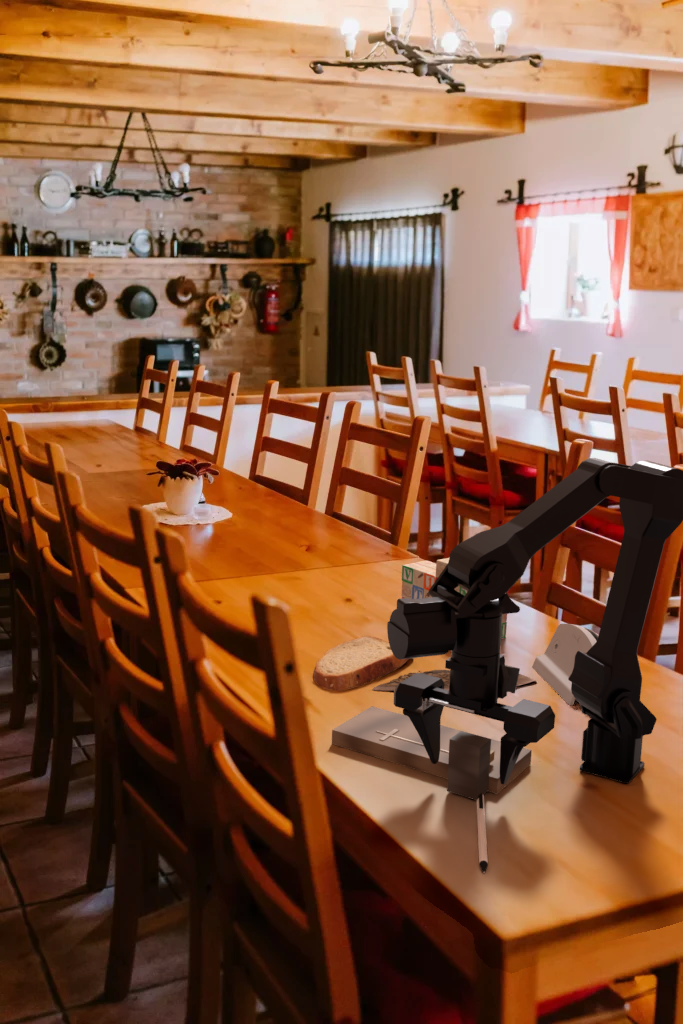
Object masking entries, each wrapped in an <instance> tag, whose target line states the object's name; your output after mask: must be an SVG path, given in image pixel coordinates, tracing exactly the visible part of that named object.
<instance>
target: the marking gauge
mask: <svg viewBox="0 0 683 1024" xmlns="http://www.w3.org/2000/svg"><path fill="white" fill-rule="evenodd" d="M478 735H479V734H475V733H472V734H471V732H468V733H467V731H464V730H461V731H460V732H459V733H457V734H456V735H455V736H453V737H452V738H451V739H450V741H449V761H448V779H447V784H446V785H447V787H446V791H447V792H449V793H453V794H456V795H459V796H463V797H465V798H469V799H472V800H475V801H477V799H478V798H479V795H480V794H481V793H482V794H483V795H484V796H485V794H486V793H487V792H489V791H488V783H489V766H490V763H491V762H492V761H493V760H494V752H495V751H493V750H490V749H491V739H492V738H490V739H489V737H486V736H482V735H479V736H478ZM485 737H486V738H485Z"/></svg>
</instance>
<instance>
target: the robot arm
mask: <svg viewBox="0 0 683 1024" xmlns="http://www.w3.org/2000/svg"><path fill="white" fill-rule="evenodd" d="M610 496H611V497H618V498H619V505H618V508H619V512H620V516H621V520H622V525H623V535H622V536H623V537H622V540H621V544H620V548H619V552H618V556H617V559H616V564H615V568H614V572H613V576H612V580H611V584H610V588H609V593H608V595H607V601H606V603H605V608H604V612H603V617H602V621H601V623H600V624H601V625H600V629H599V633H598V635H599V636H598V639H597V642H596V643H595V644H594V645H593V646H592V647H591V648H590V649H589V650H588V651H587V653H585V652H582V651H578V652H577V653H576V655H575V662H574V668H573V671H572V674H571V675H570V677H569V678H568V680H569V681H571V682H572V686H571V691H572V694H573V695H574V697H575V702H577V703H578V704H579V707H580V710H581V711H580V712H581V713H582V714H583V715H586V716H588V717H589V718H590V719H588V721H587V727H586V728H585V729H584V730H583V732H582V743H581V761H582V763H581V764H580V765H579V771H581V772H585V773H587V774H593V775H595V776H598V777H602V778H607V779H610V780H613V781H616V782H621V783H624V784H630V783H631V782H632V781H633V780H634V778H636V776H637V775H638V774H639V773H640V772H641V770H643V768H644V767H645V764H646V763H645V762H644V761H643V760H642V749H643V748H642V747H643V739H644V736H647V735H651V734H652V733H653V730H654V728H655V725H656V722H657V719H658V718H657V717H656V716H655V715H654V714H653V712H652V711H651V710H650V709H649V708H648V707H647V706H646V705H645V703H644V702H642V701H641V693H642V683H643V676H642V670H641V667H640V663H639V657H638V649H639V645H640V641H641V636H642V633H643V628H644V625H645V621H646V617H647V615H648V614H647V613H648V610H649V607H650V606H649V605H650V601H651V598H652V593H653V590H654V586H655V583H656V577H657V574H658V570H659V567H660V563H661V558H662V554H663V552H664V551H663V550H664V546H665V543H666V541H667V540H668V538H669V537H670V536H671V535H672V534H673V533H674V532H675V531H676V529H678V528H679V527H680V525H681V524H682V523H683V469H680V468H676V467H673V466H669V465H666V464H661V463H659V462H658V463H657V462H654V461H651V460H640V461H637V462H634V463H633V464H632V465H628V464H622V463H619V462H618V463H617V462H612V461H607V460H605V459H600V458H596V457H592V458H591V457H590V458H587V459H585V460H582V461H581V463H579V465H578V467H577V468H576V469H575V470H574V471H573V472H571V473H570V474H569V475H568V476H566V477H565V478H563V480H561V481H560V482H558V483H556V485H554V486H553V487H552V488H550V489H549V490H548V491H547V492H546V493H544V494H543V495H541V496H540V497H539V498H538V499H537V500H535V501H534V502H533V503H531V504H530V505H529V506H527V507H526V508H524V509H523V510H521V512H520V513H519V512H518V514H517V515H516V516H514V517H513V518H512V519H510V520H509V521H507V522H506V523H503V524H502V525H500V526H496V527H493V528H489V529H486V530H482V531H480V532H478V533H476V534H475V535H473V536H470V537H469V538H467V539H465V540H463V541H461V542H460V543H458V544H456V545H455V547H454V548H453V549H452V550H451V551H450V552H449V555H448V556H449V557H448V558H449V562H448V564H447V565H446V567H445V568H444V570H443V571H442V573H441V574H440V575H439V577H438V578H437V580H436V581H435V582H434V584H433V585H432V587H431V588H430V589H429V591H428V594H429V595H430V596H432V597H431V598H420V599H410V598H402V597H401V598H398V599H397V600H396V608H395V609H393V611H392V612H391V614H390V617H389V621H388V622H387V627H386V629H387V639H388V642H389V645H390V648H391V651H392V653H393V654H394V656H395V657H396V658H397V659H409V658H410V659H415V658H416V659H417V658H423V657H435V656H441V655H442V656H443V655H446V654H448V653H449V652H450V657H448V658H447V659H445V664H444V665H445V667H444V668H445V669H446V670H450V684H449V690H445V689H444V682H443V680H442V679H441V678H438V677H434V676H430V675H426V674H422V673H423V672H415V673H416V674H414V675H412V676H411V677H409V678H407V679H406V680H404V681H402V682H400V683H399V684H398V685H397V686H396V688H395V691H393V705H394V707H396V708H400V709H402V715H406V716H408V717H409V718H410V720H411V722H412V723H413V725H414V727H415V729H416V730H417V732H418V734H419V736H420V738H421V740H422V742H423V745H424V747H425V749H426V751H427V753H428V756H429V758H430V760H431V762H432V764H436V763H437V762H438V761H439V754H440V725H441V718H442V714H443V711H444V708H445V707H446V708H449V709H453V710H457V711H462V712H464V713H469V714H472V715H476V716H480V717H483V718H484V717H485V718H488V719H492V720H495V721H500V722H503V730H504V733H505V734H504V735H502V736H501V737H500V741H501V745H500V782H501V784H503V785H504V784H505V783H506V782H507V781H508V779H509V777H510V774H511V772H512V770H513V768H514V766H515V763H516V761H517V759H518V757H519V754H520V752H521V750H522V749H523V748H526V747H528V745H530V744H532V743H533V744H534V743H535V744H536V743H538V742H539V741H540V740H541V739H542V738H544V737H545V736H546V735H547V734H548V733H550V732H551V731H552V730H553V729H555V721H556V720H555V719H556V713H555V712H554V710H553V708H552V706H551V705H550V704H546V703H541V702H538V701H533V700H530V699H529V700H528V699H526V698H523V699H521V700H520V701H518V702H517V703H516V704H515V705H513V706H511V705H507V704H503V703H498V699H502V700H503V699H504V698H506V697H507V696H508V694H507V693H511V694H516V691H517V686H516V685H517V681H518V676H519V674H520V669H521V668H519V667H515V666H511V665H508V664H506V658H505V655H504V654H501V643H502V639H501V630H502V614H507V615H509V614H518V613H520V610H521V607H520V606H518V605H517V604H516V603H515V601H513V600H512V598H510V594H509V595H508V594H507V593H506V592H507V591H508V590H509V591H510V590H511V589H512V587H514V586H515V584H516V583H517V582H518V581H519V580H520V579H521V577H523V576H524V574H525V572H526V569H527V567H528V564H529V563H530V561H531V559H532V558H533V557H534V556H535V555H536V553H537V552H539V551H541V550H542V549H543V548H544V547H545V546H546V545H549V543H550V542H552V541H553V540H554V539H556V538H557V537H558V536H559V535H561V534H562V533H564V532H565V531H566V530H568V529H569V527H571V526H572V525H574V524H575V523H576V522H578V520H580V519H581V518H582V517H584V516H585V515H587V514H588V513H589V512H590V511H591V510H593V509H594V508H595V507H597V506H598V505H599V504H600V503H602V502H603V501H604V500H605V499H607V498H608V497H610ZM458 586H460V587H462V588H463V589H465V590H467V591H468V592H467V593H466V595H465V596H464V595H462V594H461V593H459V592H457V591H456V590H454V589H455V588H456V587H458ZM410 659H409V660H410Z"/></svg>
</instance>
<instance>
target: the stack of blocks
mask: <svg viewBox="0 0 683 1024" xmlns="http://www.w3.org/2000/svg"><path fill="white" fill-rule="evenodd" d="M448 562H449V557H446V558H441V559H437V560H436V562H432V561H430V560H422V561H416V562H413V563H412V562H411V563H406V564H402V565H401V567H402V569H401V582H402V583H401V599H402V598H410V599H420V598H431V597H432V596H430V595H429V594H428V591H429V589H430V588H431V587H432V585H433V584H434V582H435V581H436V580H437V578H438V577H439V575H440V574H441V573H442V571H443V570H444V568H445V567H446V565H447V564H448ZM454 590H456V591H457V592H459V593H461V594H462V595H464V596H465V595H466V593H467V592H468V591H467V590H465V589H463V588H462V587H460V586H458V587H456V588H455V589H454ZM506 593H507V594H508V595H509V596H510V589H509V590H508V591H507V592H506ZM507 619H508V614H502V630H501V640H503V639H506V636H507V624H508V622H507ZM502 638H503V639H502Z"/></svg>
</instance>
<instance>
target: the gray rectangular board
mask: <svg viewBox="0 0 683 1024" xmlns="http://www.w3.org/2000/svg"><path fill="white" fill-rule="evenodd" d="M460 731H462V730H461V729H458V728H457V729H456V728H452V727H450V726H449V727H448V726H445V725H442V724H440V754H439V761H438V762H437V763H436V764H432V762H431V760H430V758H429V756H428V753H427V751H426V749H425V747H424V745H423V742H422V740H421V738H420V736H419V734H418V732H417V730H416V729H415V727H414V725H413V723H412V722H411V720H410V718H409V717H408V716H406V715H404V714H403V713H402V714H401V713H399V712H398V713H397V712H396V711H395V712H394V711H391V710H388V709H384V708H380V707H376V706H370V707H368V708H366V709H365V710H362V711H361V712H360V713H358V714H357V715H354V716H353V717H351V718H349V719H348V720H345V722H342V723H341V724H339V725H338V726H336V727H335V728H333V729H332V730H331V745H334V746H338V747H341V748H345V749H347V750H351V751H354V752H358V753H361V754H363V755H367V756H370V757H374V758H377V759H381V760H384V761H386V762H391V763H393V764H397V765H400V766H404V767H407V768H411V769H414V770H416V771H420V772H422V773H427V774H428V775H429V774H430V775H433V776H437V777H439V778H440V777H441V778H443V779H446V780H448V761H449V741H450V739H451V738H452V737H453V736H455V735H456V734H457V733H459V732H460ZM466 732H467V731H466ZM467 733H469V732H467ZM470 733H471V732H470ZM471 734H473V733H471ZM477 735H478V736H480V735H479V734H477ZM484 737H485V738H487V737H486V736H484ZM488 738H489V737H488ZM489 739H491V749H490V750H493V751H495V752H494V760H493V761H492V762H491V763H490V766H489V783H488V791H487V792H489V793H493V794H495V795H498V794H499V793H500V792H501V791H502V790H503V789H504V788H506V787H507V786H508V785H509V784H510V783H511V782H512V781H513V780H515V779H516V778H517V777H518V776H519V775H520V774H522V773H523V772H524V771H525V770H526V769H528V767H530V765H531V763H532V749H529V748H526V747H523V749H522V750H521V752H520V754H519V757H518V759H517V761H516V763H515V766H514V768H513V770H512V772H511V774H510V777H509V779H508V781H507V782H506V783H505V784H504V785H503V784H501V782H500V745H501V740H497V739H494V738H489Z"/></svg>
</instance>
